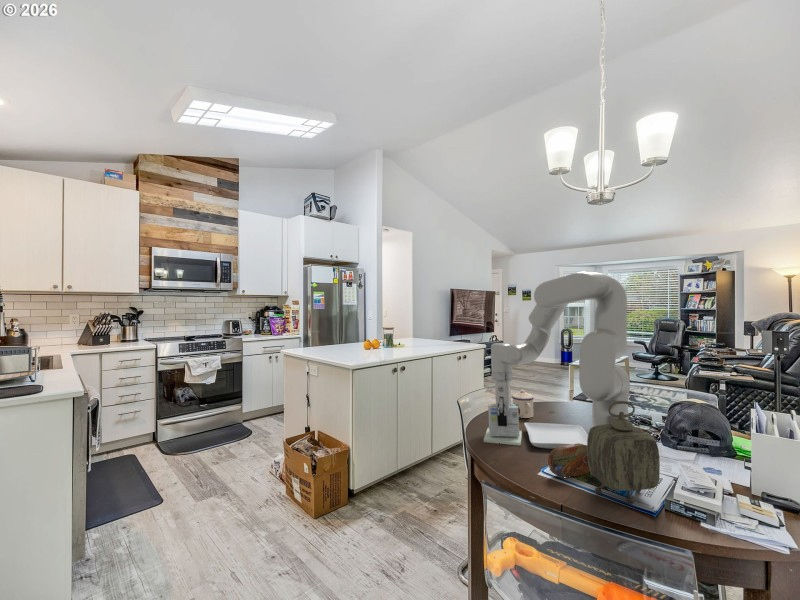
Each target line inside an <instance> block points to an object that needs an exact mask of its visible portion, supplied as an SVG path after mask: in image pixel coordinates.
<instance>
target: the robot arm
mask: <svg viewBox="0 0 800 600" xmlns="http://www.w3.org/2000/svg"><path fill="white" fill-rule="evenodd" d="M533 300H534V302H535V303H536V304H535V306H534V308H533V309H532V311H531V312H530V314H529V316H528V321H529V323H530V324H531V331H530V332H529V334H528V336H527V337H526V340H525V341H524V342H521V343H516V344H510V343H508V342H496V343H495V342H494V343H492V344H491V346H490V352H491V353H490V355H491V356H490V359H491V360H490V361H491V381H494V390H495V391H494V393H495V394H494V395H495V404H496V407H497V408H498V426H505V427H506V426H507V415H506V408H508V409H509V408H510V405H511V404H512V395H511V382H512V381H513V366H515V367H517V366H521V365H522V366H523V365H525V364H529V363H533V362H535V361H536V360H537V359H538V358H539V357H540V356H541V354H542V353H543V351H544V349H546V347H547V345H548V343H549V340H550V337H551V332H552V330H553V328H554V326H555V324H556V322H557V321H558V320H559V318H560V316H562V314H563V312H564V311H565V309H566V308H567V306H568V305H569V304H572V303H576V302H581V301H591V300H593V301H595V302H596V307H595V311H594V328H593V329H594V330H593V331H590V332H588V333H587V334H586V335H585V336H584V337H583V338H582V340H581V343H580V347H579V371H578V372H579V374H578V375H579V378H578V379H579V386H580V389H581V391H582V393H583V395H584V396H585V397H586V398H588V399H589V400H591V401H592V407H591V408H592V410H591V411H592V415H591V416H592V427H594V426H597V425H605V424H612V421H613V420H614V419H616V418H617V417H614V416H612V415H610V414H609V412H608V408H609V406H610V405H611V404H612V403H614V402H618V401H626V402H629V397H630V390H631V389H630V388H631V387H630V385H631V383H630V381H631V380H630V377H629V375H628V373H627V371H626V370H625V369H624V368H623V367H622V366H619V365H618V364H616V360H619V359H621V358H622V357H623V356H624V355H625V354H626V352H627V348H628V346H627V343H628V341H627V340H628V339H627V336H628V321H627V320H628V297H627V294H626V290H625V288H624V286H623V285H622V284H621V282H620V281H618V280H617V279H616V278H614V277H612V276H610V275H607V274H605V273H600V272H594V271H593V272H592V271H591V272H590V271H578V272H574V273H571V274H567V275H564V276H561V277H557V278H553V279H550V280H546V281H543V282H542V283H540V284H539V285H538V286H537V287H536V288H535V290H534V292H533ZM503 406H505V407H503ZM610 412H611V413H612V414H615V415H619V413H620V412H623V413H624V415H626V414H629V405H628V404H616V405H614V406H613V407H611V409H610ZM624 419H627V420H629V417H625V418H624Z"/></svg>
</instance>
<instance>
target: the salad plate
mask: <svg viewBox="0 0 800 600" xmlns="http://www.w3.org/2000/svg"><path fill="white" fill-rule="evenodd" d="M523 425H524V427H525V429H526V431H527V434H528V438H529V443H530V444H531V445H532V446H534V447H535V448H539V449H540V448H541V449H552V450H553V449H554V448H557V447H561V446H567V445H572V444H578V443H579V444H583V445H587V439H588V432H586V430H585V429H584V428H583V426H581V425H577V424H564V423H563V424H562V423H546V422H524V424H523Z"/></svg>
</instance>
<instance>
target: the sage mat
mask: <svg viewBox="0 0 800 600" xmlns="http://www.w3.org/2000/svg"><path fill="white" fill-rule="evenodd" d="M522 436H523V431H522V430H519V437H512V436H490V432H489V427H487V429H486V432H485V433H484V437H483V443H490V444H499V443H500V444H501V445H509V446H510V445H511V446H512V445H513V446H521V445H522V438H523V437H522ZM500 444H499V445H500Z"/></svg>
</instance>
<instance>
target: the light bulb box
mask: <svg viewBox="0 0 800 600" xmlns="http://www.w3.org/2000/svg"><path fill="white" fill-rule="evenodd" d="M503 407H505V406H503ZM487 408H488V409H487V411H488V428H489V432H490V436H512V437H519V431H520V418H519V415H518V407H517V406H516V404H513V403H511V405H510V408H509V409H508V408H506V415H507V426H506V427H505V426H498V408H497V407H496V403H488V404H487Z"/></svg>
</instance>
